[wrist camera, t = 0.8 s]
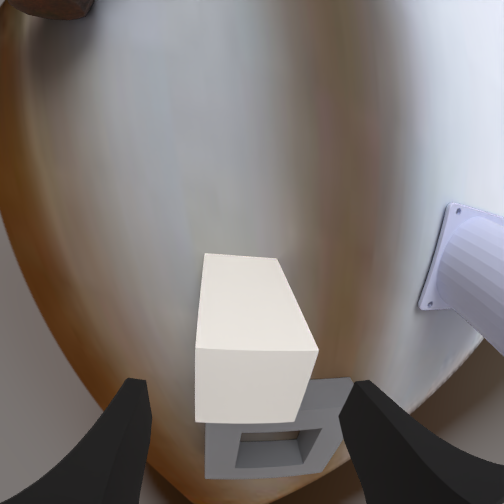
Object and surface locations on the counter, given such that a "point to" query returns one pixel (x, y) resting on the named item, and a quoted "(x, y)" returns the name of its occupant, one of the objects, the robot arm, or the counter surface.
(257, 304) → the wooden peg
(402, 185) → the counter surface
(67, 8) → the bolt
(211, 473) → the socket block
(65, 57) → the counter surface
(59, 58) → the counter surface
